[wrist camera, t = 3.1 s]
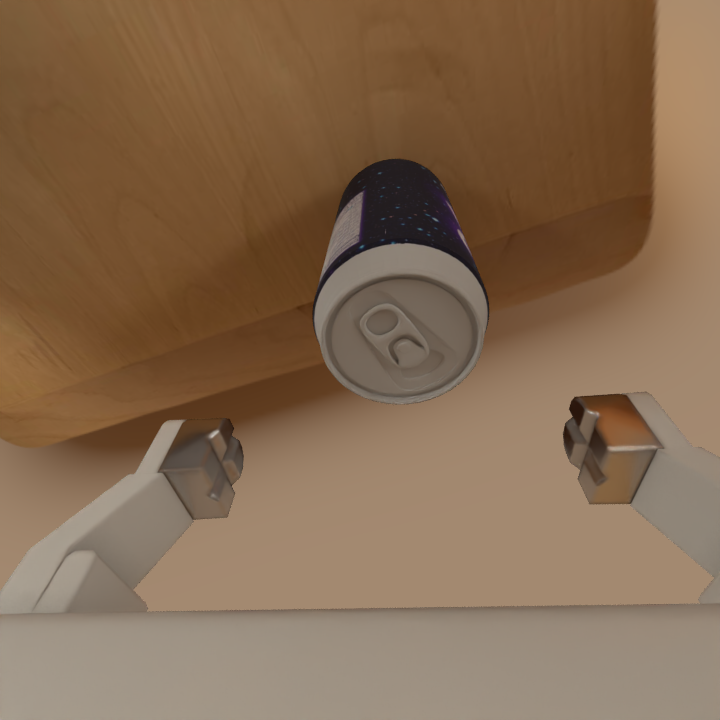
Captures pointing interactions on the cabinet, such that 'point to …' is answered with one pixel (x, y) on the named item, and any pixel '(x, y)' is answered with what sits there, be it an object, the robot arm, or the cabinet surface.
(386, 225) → the beverage can
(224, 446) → the robot arm
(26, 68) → the cabinet surface
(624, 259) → the cabinet surface
